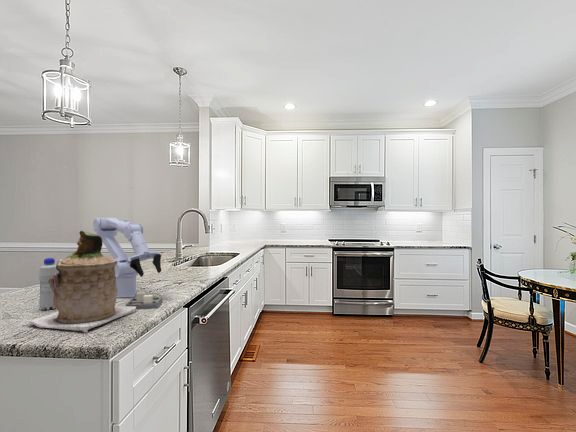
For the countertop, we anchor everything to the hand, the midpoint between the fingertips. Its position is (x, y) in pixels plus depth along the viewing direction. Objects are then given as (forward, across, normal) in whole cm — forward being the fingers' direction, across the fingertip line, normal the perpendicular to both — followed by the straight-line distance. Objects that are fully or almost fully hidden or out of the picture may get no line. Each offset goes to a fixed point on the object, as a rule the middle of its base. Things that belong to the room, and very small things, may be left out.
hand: (151, 273), depth 133 cm
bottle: (-6, -31, +23) cm, 39 cm away
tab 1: (+8, -4, +8) cm, 12 cm away
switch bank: (+11, -5, +6) cm, 13 cm away
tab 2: (+12, -5, +3) cm, 13 cm away
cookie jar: (+10, -26, +5) cm, 28 cm away
